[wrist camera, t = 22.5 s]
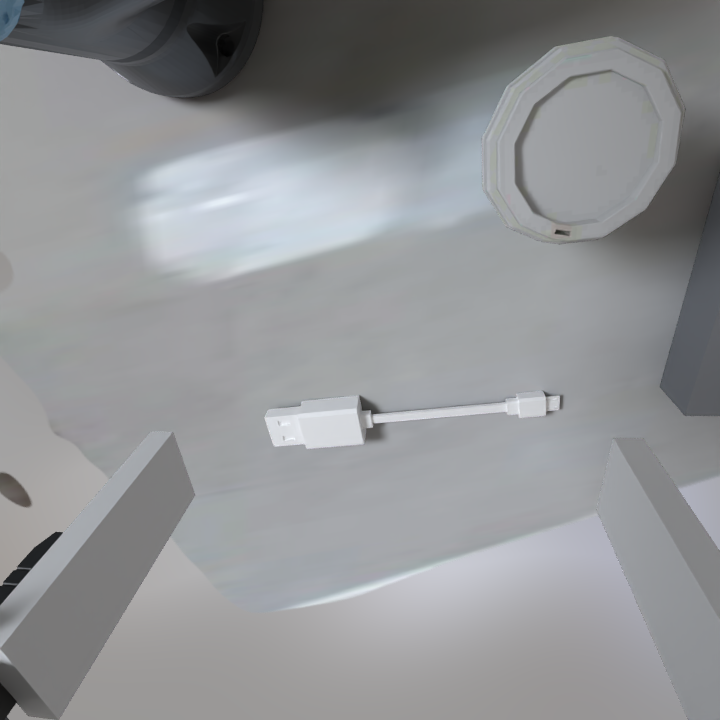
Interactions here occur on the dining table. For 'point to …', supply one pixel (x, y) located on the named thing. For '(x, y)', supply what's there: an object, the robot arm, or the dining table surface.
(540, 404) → the charging cable
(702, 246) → the socket box
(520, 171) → the disposable coffee cup
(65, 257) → the dining table surface
